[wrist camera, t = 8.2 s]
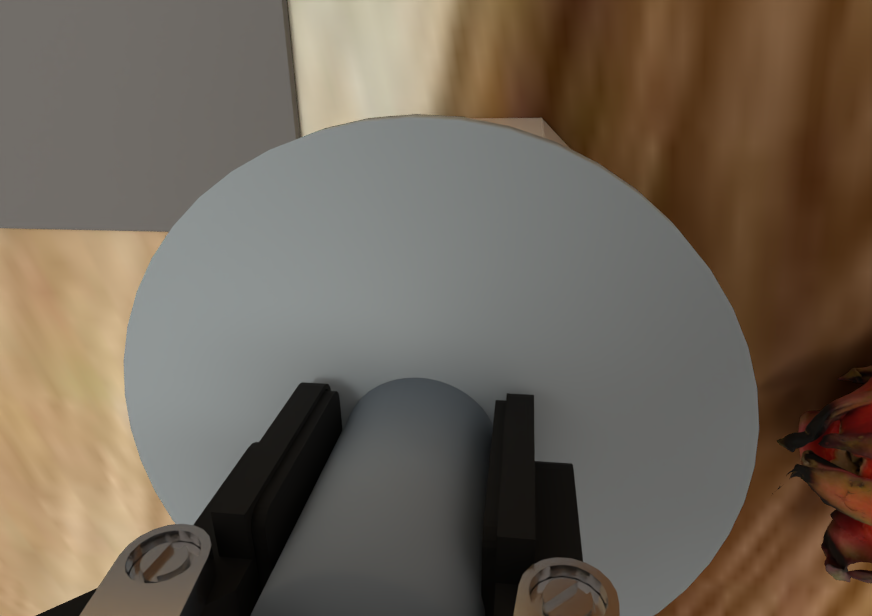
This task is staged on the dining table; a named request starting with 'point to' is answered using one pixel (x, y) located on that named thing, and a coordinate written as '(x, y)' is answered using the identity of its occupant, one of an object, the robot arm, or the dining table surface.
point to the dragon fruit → (841, 473)
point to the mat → (135, 106)
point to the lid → (444, 359)
